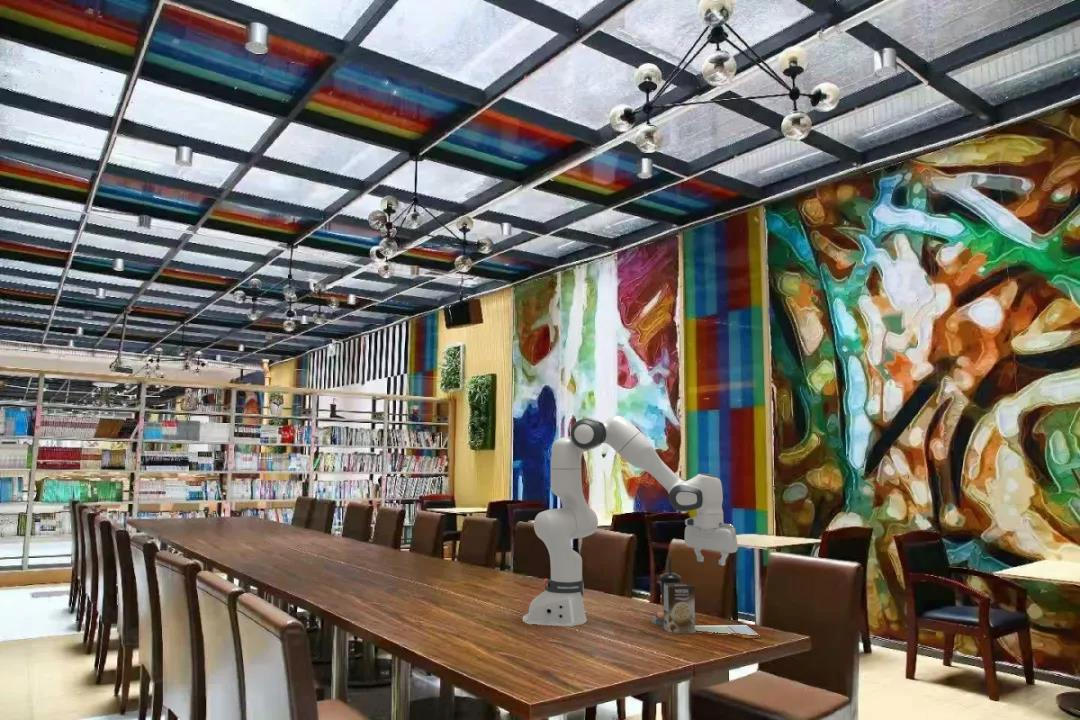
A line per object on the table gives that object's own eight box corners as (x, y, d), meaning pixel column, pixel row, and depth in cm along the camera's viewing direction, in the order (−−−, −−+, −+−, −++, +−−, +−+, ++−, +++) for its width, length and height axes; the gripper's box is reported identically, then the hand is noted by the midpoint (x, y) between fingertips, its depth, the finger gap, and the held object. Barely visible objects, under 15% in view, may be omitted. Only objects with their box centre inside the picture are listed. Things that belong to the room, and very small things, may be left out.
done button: (658, 620, 254) (658, 613, 254) (656, 618, 257) (656, 611, 257) (666, 620, 254) (666, 613, 254) (665, 618, 257) (664, 611, 257)
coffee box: (668, 636, 241) (667, 586, 243) (663, 631, 248) (662, 582, 249) (695, 635, 242) (694, 586, 244) (689, 630, 249) (689, 582, 250)
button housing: (654, 627, 252) (654, 619, 252) (651, 623, 258) (651, 615, 258) (672, 627, 252) (672, 619, 252) (668, 623, 258) (668, 615, 258)
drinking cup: (683, 612, 274) (682, 557, 276) (678, 617, 267) (677, 560, 269) (663, 610, 277) (662, 556, 279) (658, 614, 270) (657, 559, 272)
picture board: (700, 639, 238) (700, 637, 238) (688, 627, 253) (688, 625, 253) (761, 638, 239) (761, 636, 239) (746, 626, 254) (746, 624, 254)
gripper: (741, 523, 243) (742, 566, 242) (693, 518, 259) (694, 558, 258) (728, 525, 239) (730, 568, 238) (681, 519, 255) (682, 560, 254)
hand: (711, 563), depth 248 cm, fingers open, 8 cm apart
